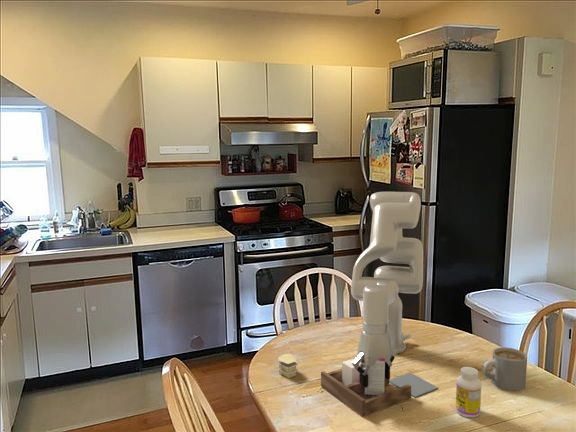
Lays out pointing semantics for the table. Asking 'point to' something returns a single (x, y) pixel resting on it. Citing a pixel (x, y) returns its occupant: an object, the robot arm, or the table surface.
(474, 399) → the supplement bottle
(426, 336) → the table surface
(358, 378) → the off-white block
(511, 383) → the coffee mug
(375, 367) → the supplement box
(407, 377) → the mat
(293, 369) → the beige ridged block
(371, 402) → the lane rack
